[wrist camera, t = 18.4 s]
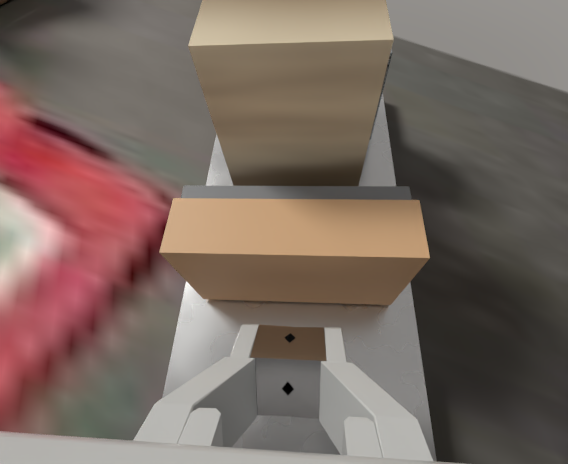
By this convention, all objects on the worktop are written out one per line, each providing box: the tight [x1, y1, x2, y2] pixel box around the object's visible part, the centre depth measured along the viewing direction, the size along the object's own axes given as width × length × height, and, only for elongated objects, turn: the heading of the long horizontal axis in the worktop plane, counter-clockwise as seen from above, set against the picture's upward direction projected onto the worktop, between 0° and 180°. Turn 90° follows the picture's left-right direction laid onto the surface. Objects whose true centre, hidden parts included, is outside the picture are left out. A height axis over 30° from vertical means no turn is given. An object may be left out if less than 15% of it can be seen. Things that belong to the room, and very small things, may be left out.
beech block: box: [188, 0, 394, 186], centre depth 13 cm, size 4×5×9 cm
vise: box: [163, 49, 437, 462], centre depth 14 cm, size 22×10×6 cm, turn 177°
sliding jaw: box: [159, 186, 430, 305], centre depth 12 cm, size 3×8×5 cm, turn 87°
